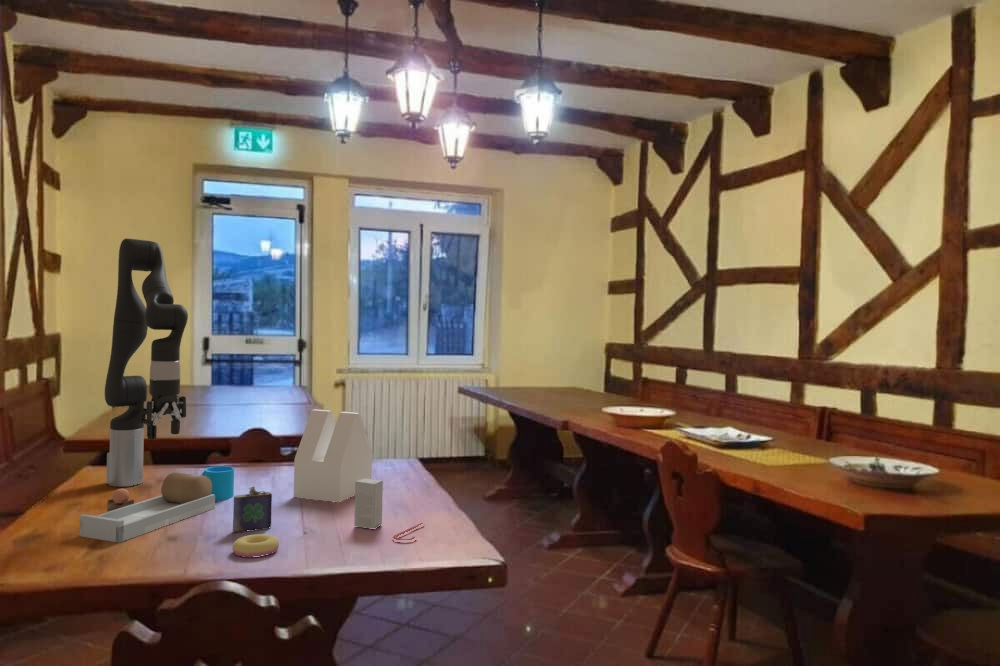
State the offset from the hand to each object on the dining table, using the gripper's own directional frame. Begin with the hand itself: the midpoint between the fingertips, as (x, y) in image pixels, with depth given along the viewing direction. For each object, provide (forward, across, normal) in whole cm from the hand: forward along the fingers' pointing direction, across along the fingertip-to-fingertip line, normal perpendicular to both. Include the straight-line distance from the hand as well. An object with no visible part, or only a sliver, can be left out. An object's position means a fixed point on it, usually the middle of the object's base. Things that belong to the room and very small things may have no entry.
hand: (163, 436), depth 192 cm
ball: (+15, +7, -7) cm, 18 cm away
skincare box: (+20, -6, +59) cm, 62 cm away
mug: (+20, -16, +4) cm, 26 cm away
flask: (+20, +7, +33) cm, 39 cm away
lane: (+20, +10, +6) cm, 23 cm away
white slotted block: (+20, -33, +34) cm, 51 cm away
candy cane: (+20, -5, +72) cm, 75 cm away
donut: (+20, +20, +44) cm, 52 cm away
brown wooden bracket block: (+20, +7, -7) cm, 22 cm away
